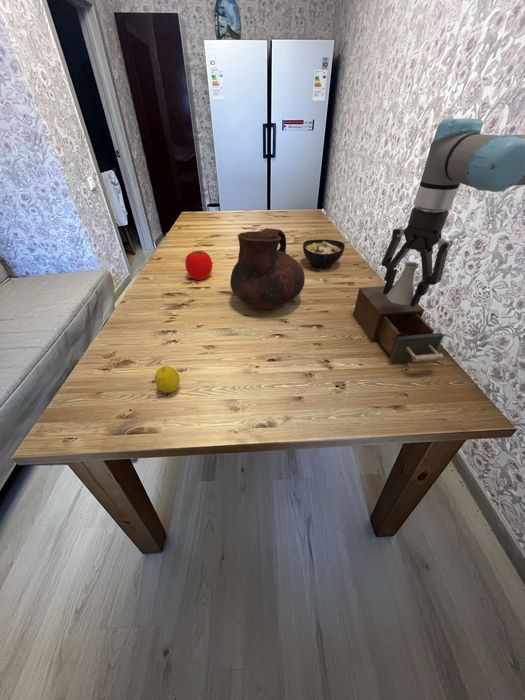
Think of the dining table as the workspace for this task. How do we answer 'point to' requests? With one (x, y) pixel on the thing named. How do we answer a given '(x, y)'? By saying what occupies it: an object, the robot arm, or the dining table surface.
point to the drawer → (409, 338)
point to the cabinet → (378, 309)
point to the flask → (404, 286)
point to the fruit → (167, 379)
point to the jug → (265, 270)
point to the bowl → (323, 252)
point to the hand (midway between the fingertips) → (400, 298)
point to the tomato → (198, 264)
